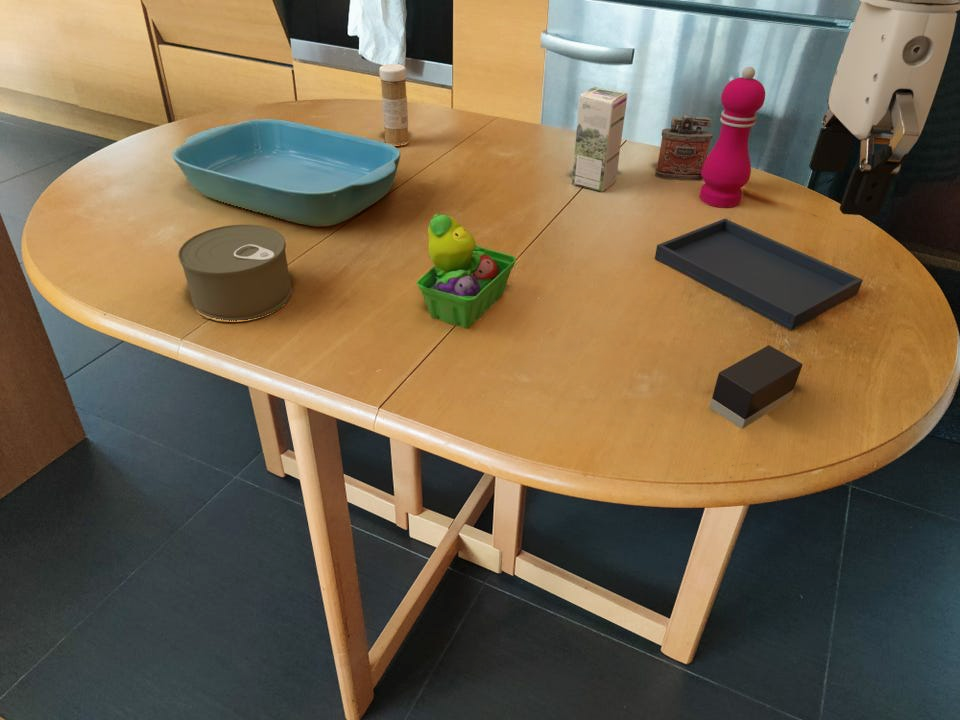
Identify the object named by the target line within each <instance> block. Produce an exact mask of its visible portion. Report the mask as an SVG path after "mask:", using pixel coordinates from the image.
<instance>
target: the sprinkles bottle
mask: <svg viewBox="0 0 960 720" xmlns="http://www.w3.org/2000/svg"><path fill="white" fill-rule="evenodd" d="M379 79H380V86H381V101H382V102H381V104H382V119H383V121H382V122H383V130H384V143H385V142H386V143H388V144H392V145H401V144H405V143H407V142H408V141H409V142H410V139H409V114H408V111H409V110H408V96H407V85H406V82H407V68H406V66H405V65H403V64H399V63H388V64H387V63H386V64H383V65H381V66H380V67H379Z"/></svg>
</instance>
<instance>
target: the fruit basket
mask: <svg viewBox="0 0 960 720" xmlns="http://www.w3.org/2000/svg"><path fill="white" fill-rule="evenodd" d="M427 234H428V245H427V248H428V249H427V251H428V255H429V258H430V260H431V262H432V263H433V267H432V268H430V269H429V270H428V271H427V272H426V273H425V274H423V275H422V276H421V277H420V278H419V279H417V281H416V284H417V286H418V289H419V291H420V292H421V294H422V296H423V299H424V302H425V304H426V305H425V306H426V307H427V310H428V313H429V315H430V317H431V319H433V320H435V319H436V320H440V321H442V322H444V323H447V324H449V325H453V326H458V327H461V328H463V329H465V330H469V329H470V328H471V327H472V326H473V325H474V324H475V322H476V321H477V320H479V319H480V318H481V317H482V316H483V315H484V314H485V312H486V311H487V310H489V309H490V308H491V307H492V306H493V305H494V304H495V302H496V301H498V300H499V299H500V298H501V297H502V296H503V295H504V292H505V289H506V286H507V283H508V281H509V278H510V275H511V272H512V270H513V268H514V267H515V264H516V261H517V258H516V256H514V255H512V254H508V253H505V252H501V251H497V250H494V249H489V248H486V247H484V246H483V247H482V246H479V245H477V243H476V240H475V237H474V235H472V233H471V232H470V231H469V230H468V229H466V227H464V226H463V225H461V224H460V223H459V222H458V221H457V220H456V219H455V218H453V217H452V216H449V215H447V214H439V213H435V214H434V215H433V218H432V219H431V220H430V222H429V225H428V228H427Z"/></svg>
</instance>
